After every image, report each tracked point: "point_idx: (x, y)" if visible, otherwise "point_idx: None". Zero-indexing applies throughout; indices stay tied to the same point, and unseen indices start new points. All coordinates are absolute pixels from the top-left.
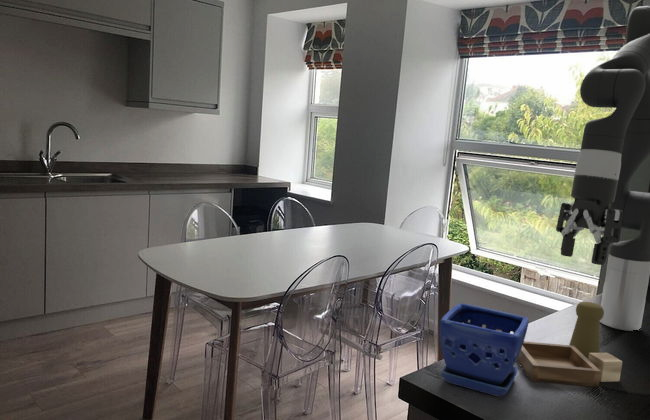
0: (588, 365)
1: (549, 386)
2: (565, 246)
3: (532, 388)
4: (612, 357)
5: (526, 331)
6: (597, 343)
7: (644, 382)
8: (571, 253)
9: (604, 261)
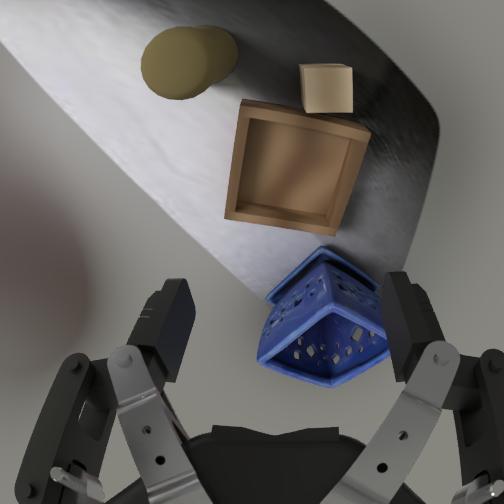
0: (340, 135)
1: (350, 203)
2: (184, 341)
3: (352, 230)
4: (331, 75)
5: (351, 300)
6: (225, 42)
7: (346, 17)
8: (181, 289)
9: (420, 288)
